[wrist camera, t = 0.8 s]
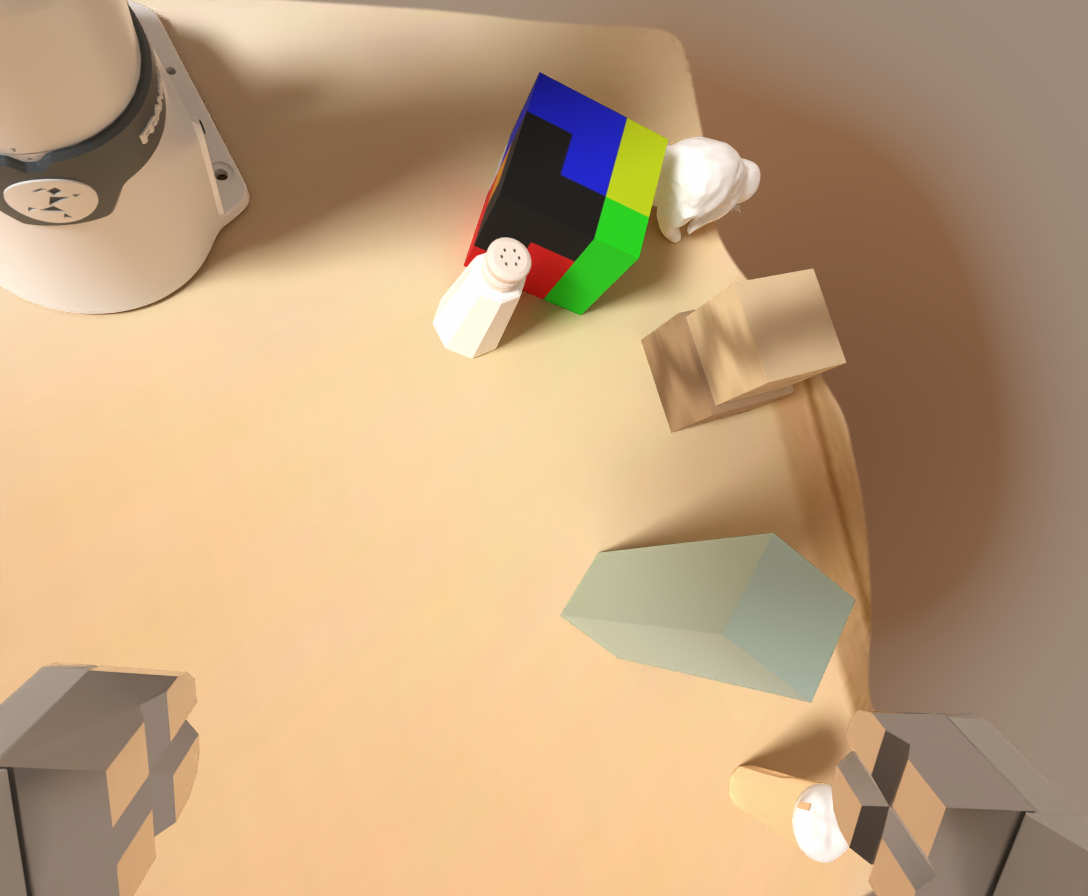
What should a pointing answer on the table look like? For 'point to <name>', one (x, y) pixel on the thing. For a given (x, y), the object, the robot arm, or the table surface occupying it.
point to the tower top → (764, 336)
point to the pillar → (716, 611)
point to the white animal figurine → (701, 184)
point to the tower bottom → (690, 378)
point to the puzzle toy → (572, 194)
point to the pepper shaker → (483, 299)
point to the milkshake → (790, 809)
